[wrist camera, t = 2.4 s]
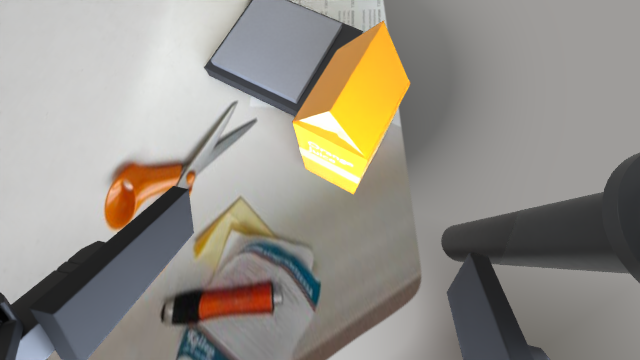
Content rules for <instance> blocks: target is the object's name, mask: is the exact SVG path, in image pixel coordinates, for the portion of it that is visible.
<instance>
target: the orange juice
mask: <svg viewBox="0 0 640 360" xmlns="http://www.w3.org/2000/svg"><path fill="white" fill-rule="evenodd" d="M409 85H410V81H409V80H408V78H407V76H406V73H405V71H404V68H403V66H402V64H401V61H400V59H399V56H398V54H397V52H396V49H395V47H394V45H393V42H392V40H391V37H390V35H389V33H388V30H387V28H386V26H385V23H384V21H382V22H380V23H379V24H377V25H376V26H374V27H373V28H371V29H369V30H368V31H366V32H365V33H363V34H362V35H360V36H358V37H357V38H355V39H354V40H352V41H351V42H349V43H347V44H346V45H344V46H343V47H341V48H340V49H338V50H337V51H336V53H335V54H334V56H333V57H332V59H331V61H330V62H329V64H328V65H327V67H326V69H325V70H324V72H323V73H322V75H321V77H320V78H319V80H318V81H317V83H316V85H315V86H314V88H313V89H312V91H311V93H310V94H309V96H308V97H307V99H306V101H305V102H304V104H303V105H302V107H301V109H300V110H299V112H298V113H297V115H296V117H295V118H294V120H293V121H292V122H293V125H294V129H295V132H296V136H297V139H298V143H299V149H300V152H301V155H302V157H303V161H304V165H305V168H306V169H307V170H309V171H311V172H313V173H315V174H317V175H318V176H320V177H322V178H324V179H326V180H328V181H330V182H332V183H333V184H335V185H337V186H339V187H341V188H343V189H345V190H347V191H349V192H350V193H352V194H354V192H355V191H356V189H357V187H358V185H359V183H360V181H361V179H362V178H363V176H364V174H365V172H366V170H367V168H368V166H369V165H370V163H371V161H372V159H373V157H374V155H375V153H376V152H377V150H378V148H379V146H380V144H381V142H382V140H383V138H384V136H385V134H386V132H387V130H388V128H389V126H390V124H391V122H392V120H393V118H394V116H395V115H396V113H397V112H396V111H397V109H398V107H399V105H400V103H401V101H402V99H403V97H404V95H405V93H406V91H407V89H408V88H409Z"/></svg>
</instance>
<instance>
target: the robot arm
mask: <svg viewBox="0 0 640 360" xmlns="http://www.w3.org/2000/svg"><path fill="white" fill-rule="evenodd" d="M193 233H194V231H193V222H192V214H191V206H190V198H189V190H188V189H185V188H180V187H176V186H173V187H172V188H170V189H169V190H168V191H167V192H166V193H164V194H163V195H162V196H161V197H160V198H159V199H157V200H156V201H155V202H154V203H153V204H151V205H150V206H149V207H148V208H147V209H145V210H144V211H143V212H142V213H141V214H140V215H138V216H137V217H136V218H135V219H134V220H132V221H131V222H130V223H129V224H128V225H126V226H125V227H124V228H123V229H122V230H120V231H119V232H118V233H117V234H116V235H115V236H113V237H112V238H111V239H110V240H109V241H107V242H106V243H105V242H101V241H97V242H95V243H93V244H91V245H89V246H87V247H84V248H82V249H81V250H80V251H78V252H77V253H76V254H75V255H73V256H72V257H71V258H70V259H69V260H68V262H65V263H63V264H62V265H61V266H60V267H58V269H57V270H56V271H53V272H52V273H51V274H49V275H48V276H47V277H46V278H44V279H43V280H42V281H41V282H39V283H38V284H37V285H36V286H34V287H33V288H32V289H31V290H29V291H28V292H27V293H26V294H24V295H23V296H22V297H20V298H19V299H18V300H17V301H15V302H14V303H13V304H11V305H10V303H9V302H8V300H7V299H6V298H5V296H4V295H3V294H2V293H0V360H48V359H47V358H48V357H49V356H50V354H51V353H52V352H53V351H54V350H56V352H57V353H58V355H59V356H60V358H61V359H62V360H87V359H88V358H89V357H90V356H91V354H92V353H93V352H94V351H95V350H96V348H97V347H98V346H99V345H100V344H101V342H102V341H103V340H104V339H105V338H106V337H107V335H108V334H109V333H110V332H111V331H112V329H113V328H114V327H115V326H116V325H117V323H118V322H119V321H120V320H121V319H122V318H123V316H124V315H125V314H126V313H127V312H128V310H129V309H130V308H131V307H132V306H133V304H134V303H135V302H136V301H137V300H138V299H139V297H140V296H141V295H142V294H143V293H144V291H145V290H146V289H147V288H148V287H149V285H150V284H151V283H152V282H153V281H154V280H155V278H156V277H157V276H158V275H159V274H160V272H161V271H162V270H163V269H164V268H165V266H166V265H167V264H168V263H169V262H170V261H171V259H172V258H173V257H174V256H175V255H176V253H177V252H178V251H179V250H180V249H181V247H182V246H183V245H184V244H185V243H186V242H187V240H188V239H189V238H190V237H191V236H192V234H193ZM447 295H448V300H449V303H450V308H451V312H452V315H453V320H454V324H455V328H456V332H457V336H458V340H459V345H460V349H461V353H462V357H463V360H550V359H549V357H548V356H547V355H546V354H545V353H544V351H543V350H542V349H541V348H538V347H534V346H529V345H527V343H526V340H525V338H524V336H523V334H522V331H521V329H520V327H519V325H518V323H517V320H516V318H515V316H514V314H513V311H512V309H511V307H510V305H509V302H508V300H507V298H506V296H505V294H504V292H503V289H502V287H501V285H500V283H499V280H498V278H497V276H496V274H495V271H494V269H493V267H492V265H491V262H490V260H489V258H488V256H485V255H480V254H476V253H471V252H470V253H469V254H468V256H467V258H466V260H465V261H464V263H463V265H462V267H461V268H460V270H459V272H458V274H457V275H456V277H455V279H454V281H453V283H452V284H451V286H450V288H449V289H448V291H447Z"/></svg>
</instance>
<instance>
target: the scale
mask: <svg viewBox="0 0 640 360" xmlns="http://www.w3.org/2000/svg"><path fill="white" fill-rule="evenodd" d="M362 33H363V31H361V30H359V29H356V28H354V27H351V26H349V25H347V24H344V23H342V22H339V21H337V20H335V19H332V18H330V17H327V16H325V15H322V14H320V13H318V12H315V11H313V10H310V9H308V8H306V7H303V6H301V5H298V4H296V3H293V2H291V1H289V0H251V2H250V3H249V5H248V6H247V8H246V9H245V10H244V12H243V13H242V15H241V16H240V17H239V19H238V20H237V22H236V23H235V25H234V26H233V27H232V29H231V30H230V32H229V33H228V34H227V36H226V37H225V39H224V40H223V42H222V43H221V44H220V46H219V47H218V49H217V50H216V51H215V53H214V54H213V56H212V57H211V59H210V60H209V61H208V63H207V64H206V66H205V67H204V68H205V69H206V71H207V72H208V74H209V75H210V76H212V77H214V78H216V79H218V80H220V81H222V82H224V83H226V84H228V85H231V86H233V87H235V88H237V89H239V90H241V91H243V92H245V93H247V94H249V95H251V96H254V97H256V98H258V99H260V100H262V101H264V102H266V103H268V104H270V105H272V106H275V107H277V108H279V109H281V110H283V111H285V112H287V113H289V114H291V115H293V116H295V117H296V115H297V113H298V112H299V110H300V109H301V107H302V105H303V104H304V102H305V101H306V99H307V97H308V96H309V94H310V93H311V91H312V89H313V88H314V86H315V85H316V83H317V81H318V80H319V78H320V77H321V75H322V73H323V72H324V70H325V69H326V67H327V65H328V64H329V62H330V61H331V59H332V57H333V56H334V54H335V53H336V51H337V50H338V49H340V48H341V47H343V46H344V45H346V44H347V43H349V42H351V41H352V40H354V39H355V38H357V37H358V36H360V35H362Z"/></svg>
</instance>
